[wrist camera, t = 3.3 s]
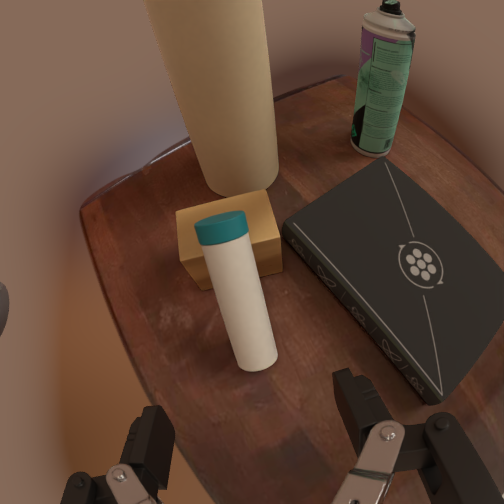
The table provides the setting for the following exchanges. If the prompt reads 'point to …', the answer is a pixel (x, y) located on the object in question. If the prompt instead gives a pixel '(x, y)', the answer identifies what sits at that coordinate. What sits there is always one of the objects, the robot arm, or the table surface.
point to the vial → (238, 288)
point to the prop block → (260, 233)
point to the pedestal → (221, 87)
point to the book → (404, 274)
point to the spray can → (381, 78)
